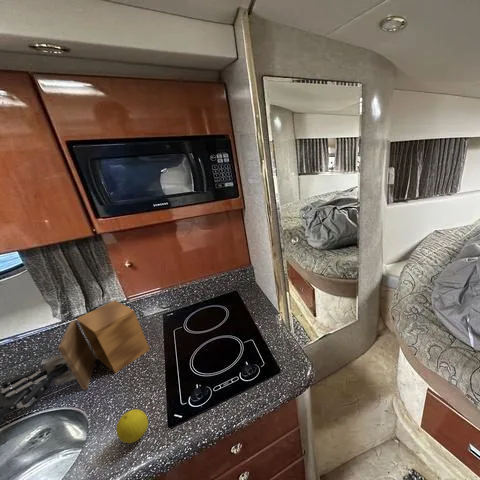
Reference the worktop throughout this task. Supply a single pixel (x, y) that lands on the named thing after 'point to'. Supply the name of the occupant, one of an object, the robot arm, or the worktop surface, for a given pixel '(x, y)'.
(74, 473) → the worktop surface
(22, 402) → the robot arm
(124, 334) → the cupboard
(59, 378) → the cupboard door
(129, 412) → the lemon
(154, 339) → the worktop surface
